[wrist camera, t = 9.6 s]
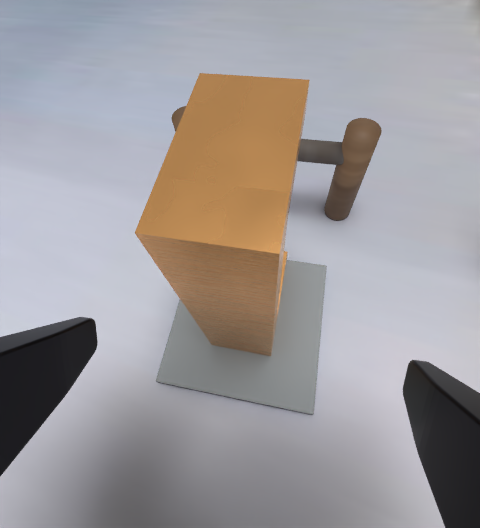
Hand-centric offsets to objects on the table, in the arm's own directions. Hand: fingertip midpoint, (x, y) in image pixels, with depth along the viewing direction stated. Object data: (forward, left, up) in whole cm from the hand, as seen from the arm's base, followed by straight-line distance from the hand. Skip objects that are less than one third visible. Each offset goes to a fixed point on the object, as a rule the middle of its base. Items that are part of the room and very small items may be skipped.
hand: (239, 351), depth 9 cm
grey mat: (+4, +1, -13) cm, 13 cm away
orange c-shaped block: (+6, +1, -12) cm, 13 cm away
